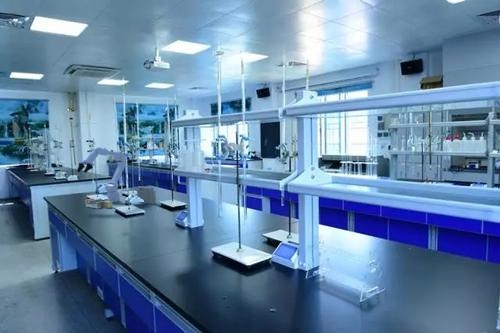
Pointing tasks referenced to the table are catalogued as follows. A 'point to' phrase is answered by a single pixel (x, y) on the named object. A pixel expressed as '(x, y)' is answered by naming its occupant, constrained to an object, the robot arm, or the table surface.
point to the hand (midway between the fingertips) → (81, 171)
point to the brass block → (107, 204)
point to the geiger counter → (146, 194)
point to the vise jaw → (92, 201)
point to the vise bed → (97, 204)
